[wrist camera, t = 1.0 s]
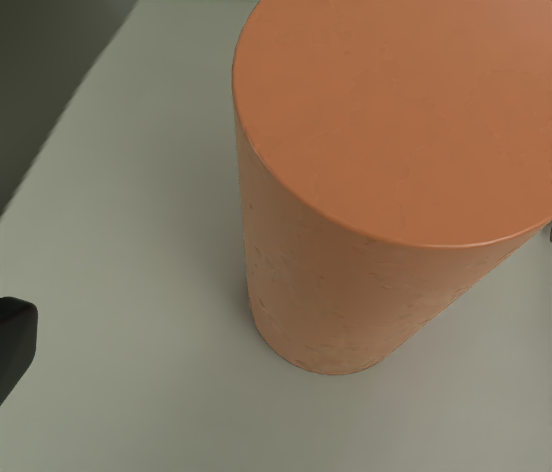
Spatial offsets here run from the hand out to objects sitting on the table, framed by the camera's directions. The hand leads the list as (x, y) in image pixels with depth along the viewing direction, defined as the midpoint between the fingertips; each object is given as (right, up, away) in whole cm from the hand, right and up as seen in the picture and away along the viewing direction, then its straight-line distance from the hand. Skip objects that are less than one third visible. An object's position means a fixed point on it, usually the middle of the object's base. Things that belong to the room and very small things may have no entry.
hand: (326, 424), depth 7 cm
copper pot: (+2, +2, +14) cm, 15 cm away
